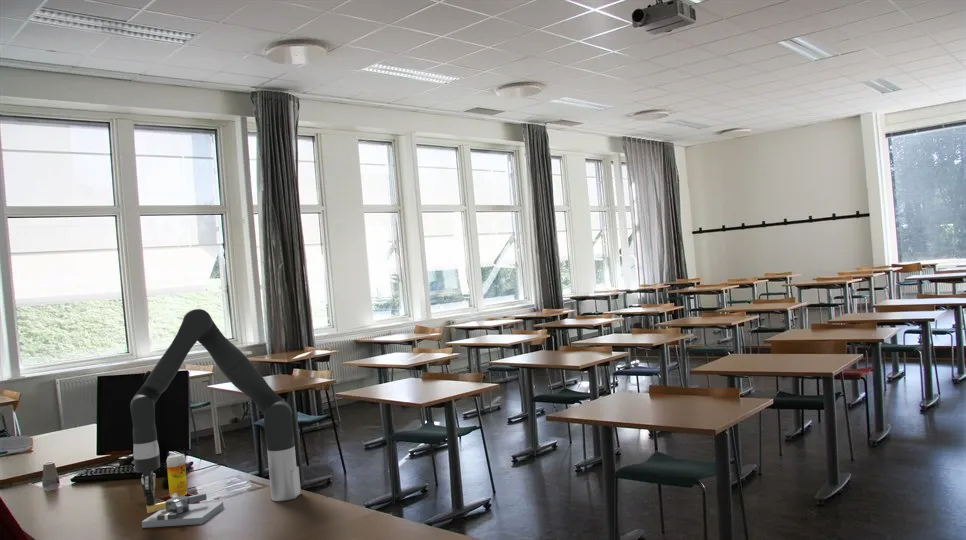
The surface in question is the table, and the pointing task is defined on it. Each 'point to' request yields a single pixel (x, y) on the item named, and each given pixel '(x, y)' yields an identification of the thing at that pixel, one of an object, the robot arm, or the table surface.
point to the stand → (184, 516)
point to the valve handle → (176, 504)
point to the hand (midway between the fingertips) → (151, 507)
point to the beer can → (177, 475)
